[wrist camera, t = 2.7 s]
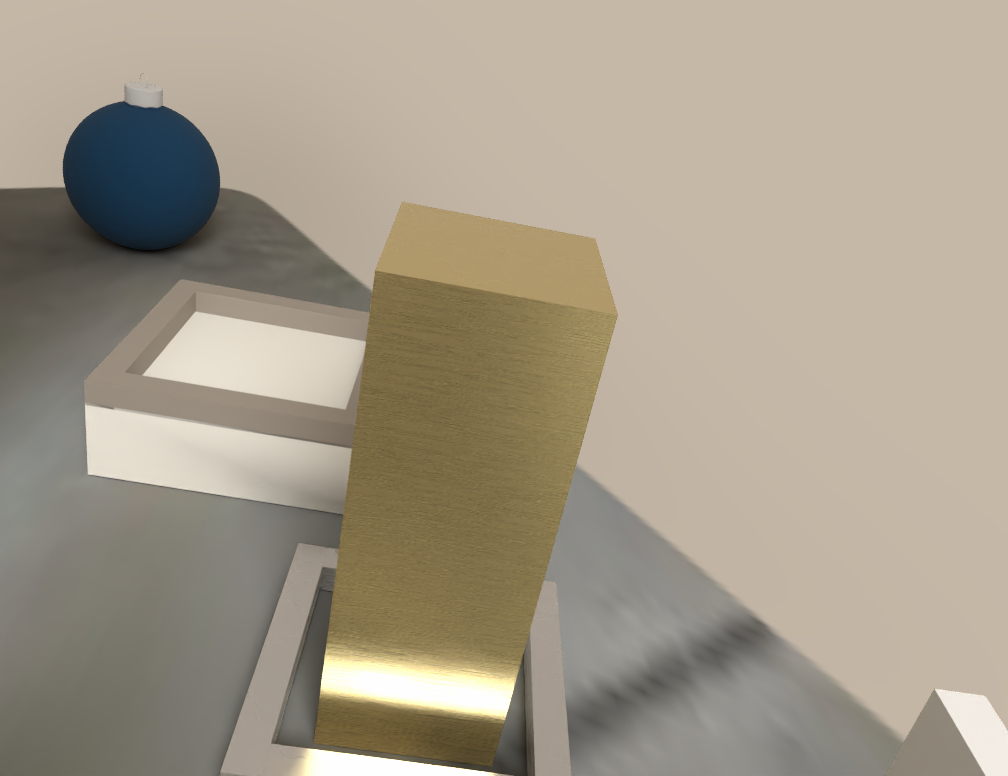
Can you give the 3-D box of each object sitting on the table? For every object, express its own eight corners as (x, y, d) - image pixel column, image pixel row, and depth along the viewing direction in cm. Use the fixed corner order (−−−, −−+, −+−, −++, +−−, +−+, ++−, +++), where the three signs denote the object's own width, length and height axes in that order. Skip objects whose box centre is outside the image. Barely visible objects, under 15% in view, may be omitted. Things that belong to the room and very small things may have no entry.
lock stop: (313, 742, 23) (375, 270, 17) (344, 615, 28) (402, 201, 21) (491, 766, 24) (618, 314, 17) (494, 637, 28) (594, 238, 22)
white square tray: (87, 474, 32) (84, 380, 30) (179, 356, 40) (180, 279, 39) (356, 516, 32) (368, 427, 31) (388, 392, 41) (399, 317, 39)
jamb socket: (218, 798, 21) (219, 772, 21) (296, 565, 29) (298, 543, 29) (566, 842, 22) (574, 817, 22) (550, 603, 30) (556, 582, 30)
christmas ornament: (242, 263, 52) (252, 95, 47) (101, 279, 46) (96, 90, 42) (178, 216, 57) (181, 60, 52) (43, 226, 51) (33, 51, 46)
